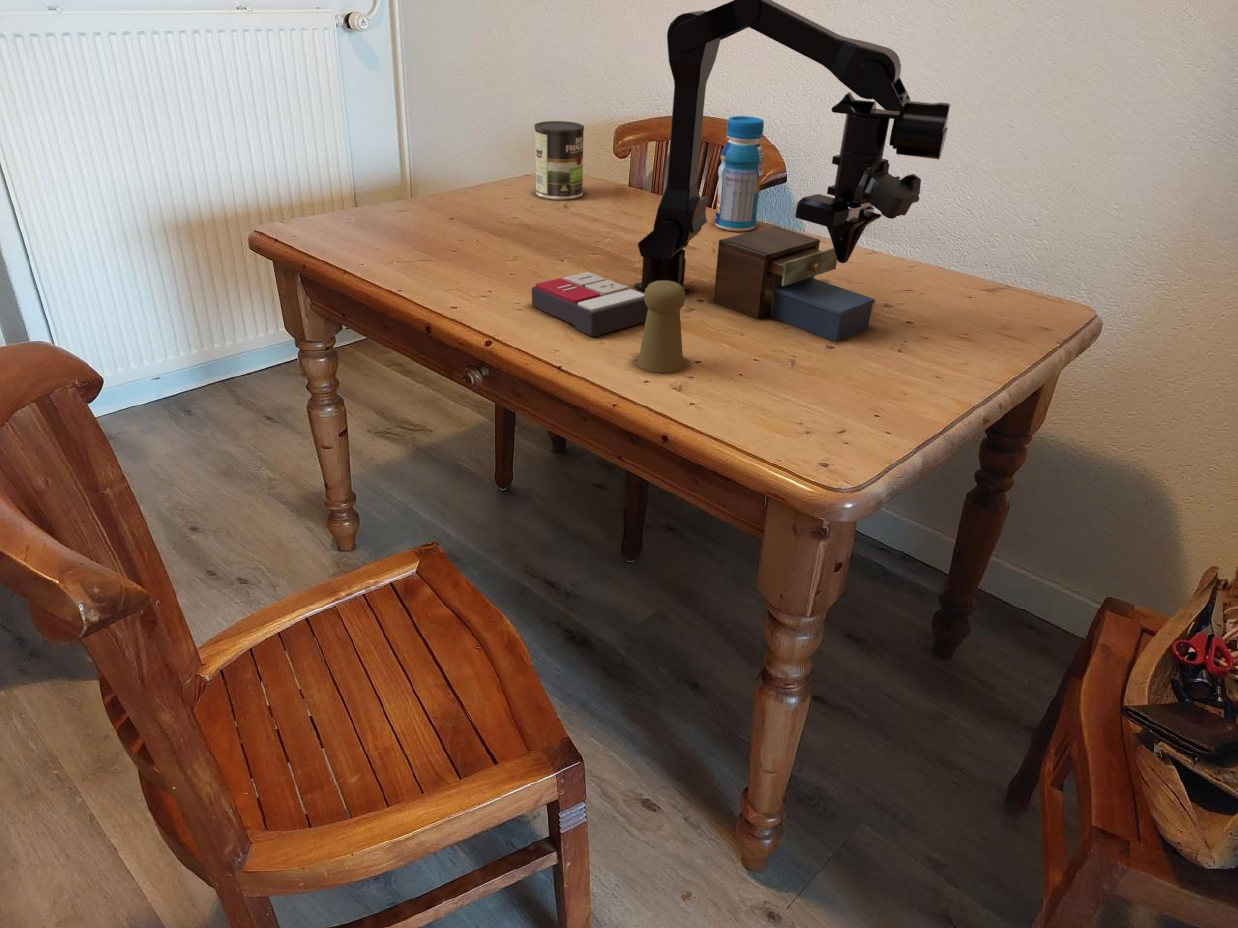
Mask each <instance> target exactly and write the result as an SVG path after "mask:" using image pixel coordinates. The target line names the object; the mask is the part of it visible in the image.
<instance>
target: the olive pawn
mask: <svg viewBox="0 0 1238 928" xmlns="http://www.w3.org/2000/svg"><path fill="white" fill-rule="evenodd" d="M644 294H645V295H644V300H645V304H646V305H647V307H648V312H647V317H646V322H644V329H643V332H642V333H643V334H642V339H641V342H640V343H641V344H640V348H639V354H638V359H637V365H638V367H640V368H641V369H643V370H645V371H648V372H651V373H656V374H657V373H658V374H669V373H670V374H671V373H674V372H678V371H680V370H681V369H682V368H683V367H684V357H683V356H684V355H683V339H682V324H681V323H682V321H681V309H682V308H683V307H684V305H685V302H686V291H684V289H683V287H682V286H681V285H680V284H678V283H676V282H673V281H665V280H662V281H655V282H652V283H650V284H649V285H648V286H647V288H646V290H645V291H644Z"/></svg>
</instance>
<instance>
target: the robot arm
mask: <svg viewBox="0 0 1238 928" xmlns="http://www.w3.org/2000/svg"><path fill="white" fill-rule="evenodd" d="M748 28H749V29H752V30H754V31H756V32H758V33H760V34H761V35H763V36H765V37H767V38H769V39H771V40H773V41H775V42H777V43H779V44H781V45H783V46H785V47H786V48H789V49H791V50H792V51H794V52H796V53H798V54H800V55H802V56H804V57H806V58H807V59H810V60H812V61H814V62H816V63H818V64H819V65H820V66H821V65H822V66H823V67H824V68H825V69H826V70H828V71H829V72H830V73H831V74H832V75H833V76H834V77H835V78H836V79H837V80H838V81H839V82H840V83H842V84H843V85H844V86H845V87H847V89H849V90H850V91H852V92H853V93H854V94H855V95H857V96H858V97H860V98H861V99H856V98H855V97H854V96H853V94H852V92H847V93H846V94H844V96H843V97H842V99H841V100H840V101H839V102H838V103H836V104H834V105H833V106H832V107H831V112H832V113H834V114H843V115H845V119H844V126H843V130H842V131H843V132H842V139H841V144H840V150H839V154H837V155H832V159H831V164H832V165H835V166H837V169H836V175H835V181H834V184H833V185H830V186H829V185H828V187H827V192H826V194H827V195H830V196H827V195H825V194H820V193H816V194H812V195H808V196H804V197H802V198H801V199H799V200H798V201H797V202H796V208H795V213H794V217H795V218H796V219H798V220H802V221H805V222H809V223H812V224H815V225H819V226H823V227H826V229H827V231H828V234H829V237H830V240H831V243H832V246H833V247H832V248H834V250H835V253H836V257H837V263H839V264H846V263H847V262H848V261H849V260H850V258H851V255H852V254H853V251H854V249H855V248H856V246H857V244H858V243H859V240H860V238H861V236H862V234H863V233H864V231H865V229H866V227H867V226H869V225H870V224H872V223H873V222H875V221H877V220H878V219H881V218H882V216H883V217H884V218H887V219H889V220H892V219H895V218H897V217H900V216H906V215H907V213H908V212H909V210H910V208H911V207H912V204H915V203H918V202H919V201H920V193H921V183H922V179H921V177H919V176H918V175H916V174H915V173H912V174H907V175H905V176H904V177H902V178H901V177H900V176H899V175H897V176H894V175H892V174H890V173H889V170H890V162H889V159H887V158H883V156H884V153H885V148H886V147H885V146H886V141H887V137H888V132H889V131H888V130H889V125H890V120H893V121H892V126H891V131H890V132H891V133H890V136H889V146H891V147H892V149H894V150H895V152H896V153H895V154H896V155H898V156H907V157H915V158H924V159H931V160H932V159H933V160H940V159H941V157H942V153H943V149H944V146H945V141H946V139H947V133H948V127H947V126H948V119H949V112H950V109H951V104H950V103H949V102H924V101H923V102H921V101H913V100H912V101H911V97H910V95H909V93H908V91H907V89H906V87H905V85H904V83H903V80H902V79H901V77H900V76H901V73H902V64H901V61H900V57H899V55H898V54H897V52H896V51H894V50H893V49H891V48H890V47H886V46H883V45H879V44H876V43H873V42H869V41H865V40H860V39H857V38H851V37H847V36H844V35H840V34H839V33H836V32H834V31H833V30H830V29H829V28H827V27H825V26H823V25H821V24H819V23H817V22H815V21H813V20H811V19H810V18H807V17H806V16H804V15H801V14H799V13H797V12H796V11H793V10H792V9H789V8H787V7H785V6H784V5H781V4H779V3H777V2H776V1H773V0H731V1H729V2H726V3H724V4H722V5H719V6H716V7H714V8H712V9H709V10H697V11H690V12H685V13H684V12H683V13H681V14H679V15H678V16H676V17H675V18H674V19H673V20H672V22H670V24H669V26H668V28H667V33H666V42H667V43H666V44H667V55H668V56H667V57H668V64H669V68H670V71H671V74H672V78H673V86H674V87H673V88H674V89H673V90H674V91H673V100H672V102H673V103H672V113H671V126H670V127H671V128H670V138H669V139H670V140H669V152H668V165H667V166H668V167H667V177H666V186H665V189H664V191H663V194H662V197H661V199H660V200H659V201H660V202H659V204H658V207H657V209H656V210H657V211H656V214H655V220H654V222H653V230H652V231H651V232H650V233H648V234H647V235H646V236H645V237H644V238H643V239H641V240H640V241H639V242H638V243H637V247H638V250H639V254H640V256H641V257H642V269H641V271H642V272H641V282H638V283H635V284H634V288H635V289H637V290H640V291H642V292H645V290H646V288H647V286H648V285H649V284H650V283H652V282H655V281H662V280H665V281H673V282H676V283H678V284H680V285H681V286H682V287H683V289H684V291H685V292H688V291H690V290H691V289H690V286H688V285H685V284H684V283H685V273H686V262H687V261H686V250H685V249H684V248H686V247H688V245H689V243H690V241H691V240H693V239H694V238H695V237H696V236H698V235H699V233H700V232H701V230H702V228H703V226H704V225H705V224H707V222H708V219H707V214H706V211H707V208H708V203H709V196H701V195H700V192H699V188H698V175H699V174H698V173H699V164H700V153H701V143H702V132H703V121H704V110H705V101H706V99H705V98H706V89H707V82H708V80H709V77H710V75H711V73H712V70H713V68H714V65H715V62H716V59H717V55H718V52H719V47H720V44H721V41H722V40H724V39H727V38H729V37H731V36H733V35H735V34H738V33H740V32H742V31H744V30H746V29H748ZM863 99H865V100H863ZM872 100H874V101H872ZM877 104H878V105H879V106H880V107H881V108H882V109H881V108H877ZM832 196H833V197H832ZM875 209H876V210H878V211H879V212H880V213H877V212H875Z"/></svg>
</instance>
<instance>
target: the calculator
mask: <svg viewBox="0 0 1238 928" xmlns="http://www.w3.org/2000/svg"><path fill="white" fill-rule="evenodd" d="M644 295H645V293H643V292H641V291H638V290H635V289H633V288H629V286H628V285H624V284H622V283H619V282H616V281H615V280H614V281H613V280H612V279H607V278H606V277H603V276H600V275H597V274H595V273H592V272H589V271H585V272H581V273H576V274H573V275H572V274H571V275H567V276H564V277H563V278H561V277H560V278H555V279H551V280H550V279H549V280H547V281H542V282H537V283H535V286H532V287H531V304H532V305H531V306H532V308H535V309H537V310H540V311H542V312H544V313H546V314H549V315H550V316H554V317H556V318H558V319H559V320H562V321H565V322H567V323H569V324H571V325H573V326H574V329H576V331H578V332H580V333H583V334H585V335H587V336H590V337H592V338H593V337H598V336H601V335H605V334H608V333H612V332H615V331H619V330H623V329H625V328H629V327H632V326H633V327H634V326H636V325H640V324H645V322H646V317H647V312H648V307H647V305H646V304H645V300H644Z"/></svg>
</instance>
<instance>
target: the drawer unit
mask: <svg viewBox="0 0 1238 928" xmlns="http://www.w3.org/2000/svg"><path fill="white" fill-rule="evenodd" d="M820 242H821V239H820V238H816V237H813V236H809V235H806V234H803V233H801V232H796V231H792V230H788V229H786V228H783V227H779V226H776V225H772V226H768V227H764V228H760V229H757V230H752V231H749V232H748V231H747V232H745V233H741V234H737V235H733V236H731V237H730V236H729V237H726V238H722V239H718V247H717V248H718V249H717V257H716V258H717V259H716V269H715V279H714V287H713V288H714V289H713V300H712V302H713V303H714V304H717V305H718V306H719V305H720V306H722V307H724V308H727V309H729V310H732V311H735V312H737V313H740V314H743V315H745V316H748V317H750V318H753V319H755V320H760V319H763V310H764V304H765V294H766V289H769V290H771V291H772V290H773V287H776V286H779V285H781V284H782V277H783V276H781V275H778V274H775V273H772V272H769V271H768V264H769V259H772V258H776V257H779V256H782V255H786V254H789V253H793V252H796V251H799V250H803V249H806V248H810V247H811V248H814V249H818V250H820V244H821V243H820ZM811 278H814V279H815V276H813V277H811Z"/></svg>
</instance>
